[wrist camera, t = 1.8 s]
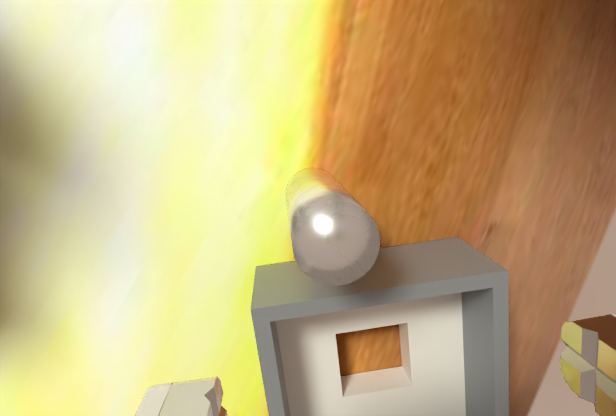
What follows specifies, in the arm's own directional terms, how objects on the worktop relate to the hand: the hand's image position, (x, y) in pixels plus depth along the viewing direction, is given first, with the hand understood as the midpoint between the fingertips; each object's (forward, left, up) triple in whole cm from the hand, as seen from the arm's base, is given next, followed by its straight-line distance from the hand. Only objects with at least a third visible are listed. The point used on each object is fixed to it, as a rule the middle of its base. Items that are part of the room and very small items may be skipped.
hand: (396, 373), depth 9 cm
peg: (0, 0, -21) cm, 21 cm away
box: (+13, +3, -21) cm, 25 cm away
